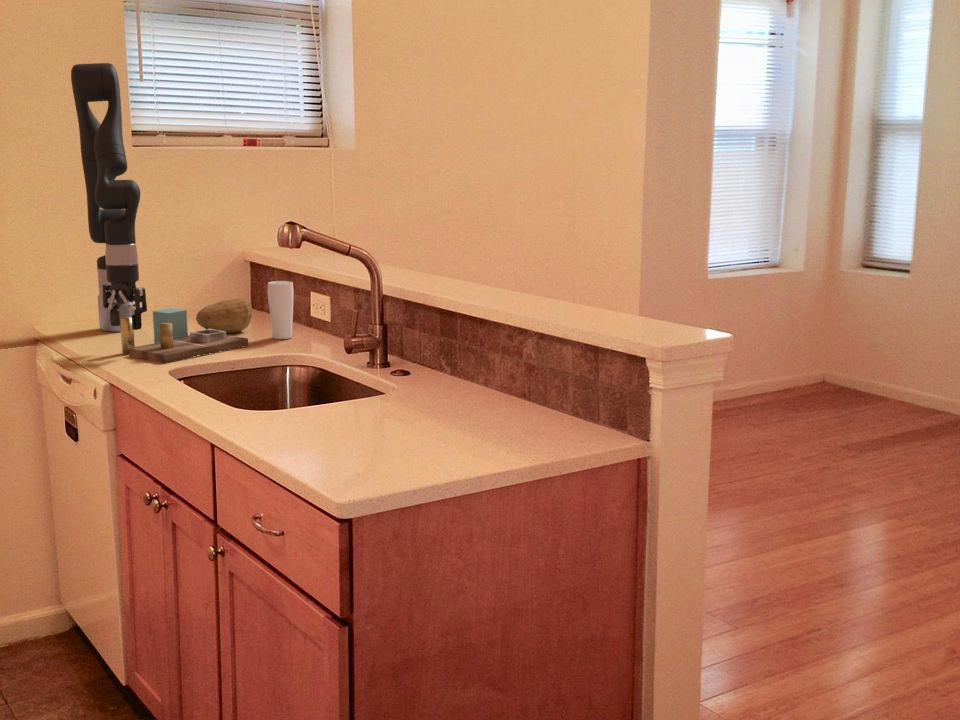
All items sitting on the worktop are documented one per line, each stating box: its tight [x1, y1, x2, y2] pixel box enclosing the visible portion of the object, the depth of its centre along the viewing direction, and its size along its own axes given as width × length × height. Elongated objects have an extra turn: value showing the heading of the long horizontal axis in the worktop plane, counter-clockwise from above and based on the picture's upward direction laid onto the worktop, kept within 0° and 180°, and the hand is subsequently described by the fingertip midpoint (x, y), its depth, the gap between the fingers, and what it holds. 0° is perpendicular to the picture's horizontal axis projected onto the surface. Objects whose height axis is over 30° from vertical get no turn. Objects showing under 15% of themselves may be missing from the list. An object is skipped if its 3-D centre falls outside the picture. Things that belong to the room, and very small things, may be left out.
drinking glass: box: [267, 280, 295, 340], centre depth 287 cm, size 7×7×15 cm
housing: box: [152, 307, 189, 343], centre depth 280 cm, size 6×6×9 cm
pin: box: [120, 317, 136, 355], centre depth 268 cm, size 3×3×9 cm
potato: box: [195, 297, 253, 334], centre depth 295 cm, size 9×16×9 cm, turn 117°
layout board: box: [129, 323, 249, 364], centre depth 271 cm, size 14×26×8 cm, turn 144°
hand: (126, 327), depth 267 cm, fingers open, 8 cm apart
